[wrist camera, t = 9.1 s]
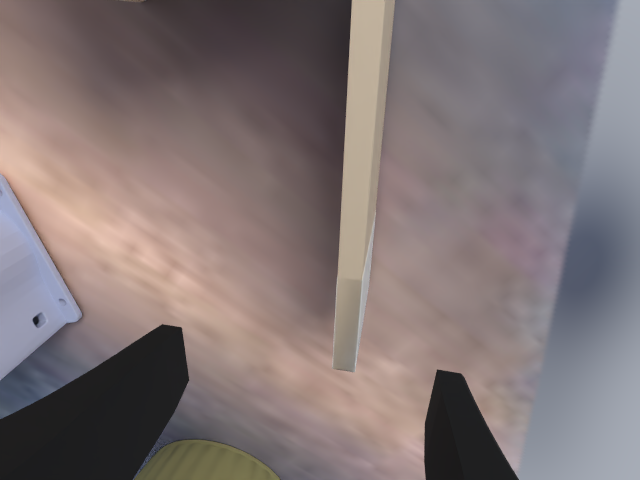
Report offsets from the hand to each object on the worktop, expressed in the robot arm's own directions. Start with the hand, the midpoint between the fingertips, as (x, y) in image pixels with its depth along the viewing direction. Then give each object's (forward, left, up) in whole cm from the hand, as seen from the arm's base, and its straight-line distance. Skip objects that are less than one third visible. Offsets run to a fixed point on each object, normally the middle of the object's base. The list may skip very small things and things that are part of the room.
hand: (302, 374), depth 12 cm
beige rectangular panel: (+4, -2, -9) cm, 10 cm away
